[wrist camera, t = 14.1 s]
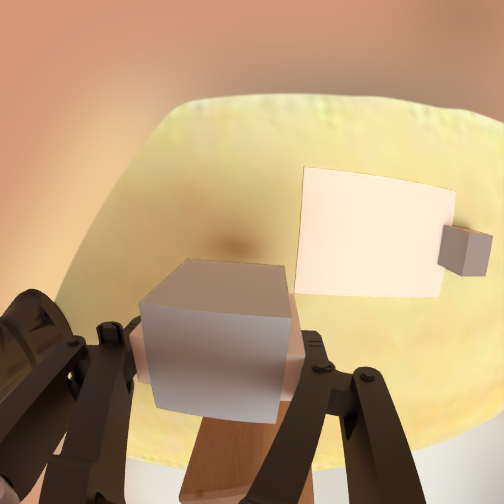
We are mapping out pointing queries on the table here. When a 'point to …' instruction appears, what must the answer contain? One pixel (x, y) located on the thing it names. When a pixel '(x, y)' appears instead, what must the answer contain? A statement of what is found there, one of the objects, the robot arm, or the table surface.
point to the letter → (370, 235)
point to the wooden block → (231, 460)
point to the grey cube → (465, 251)
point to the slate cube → (218, 339)
